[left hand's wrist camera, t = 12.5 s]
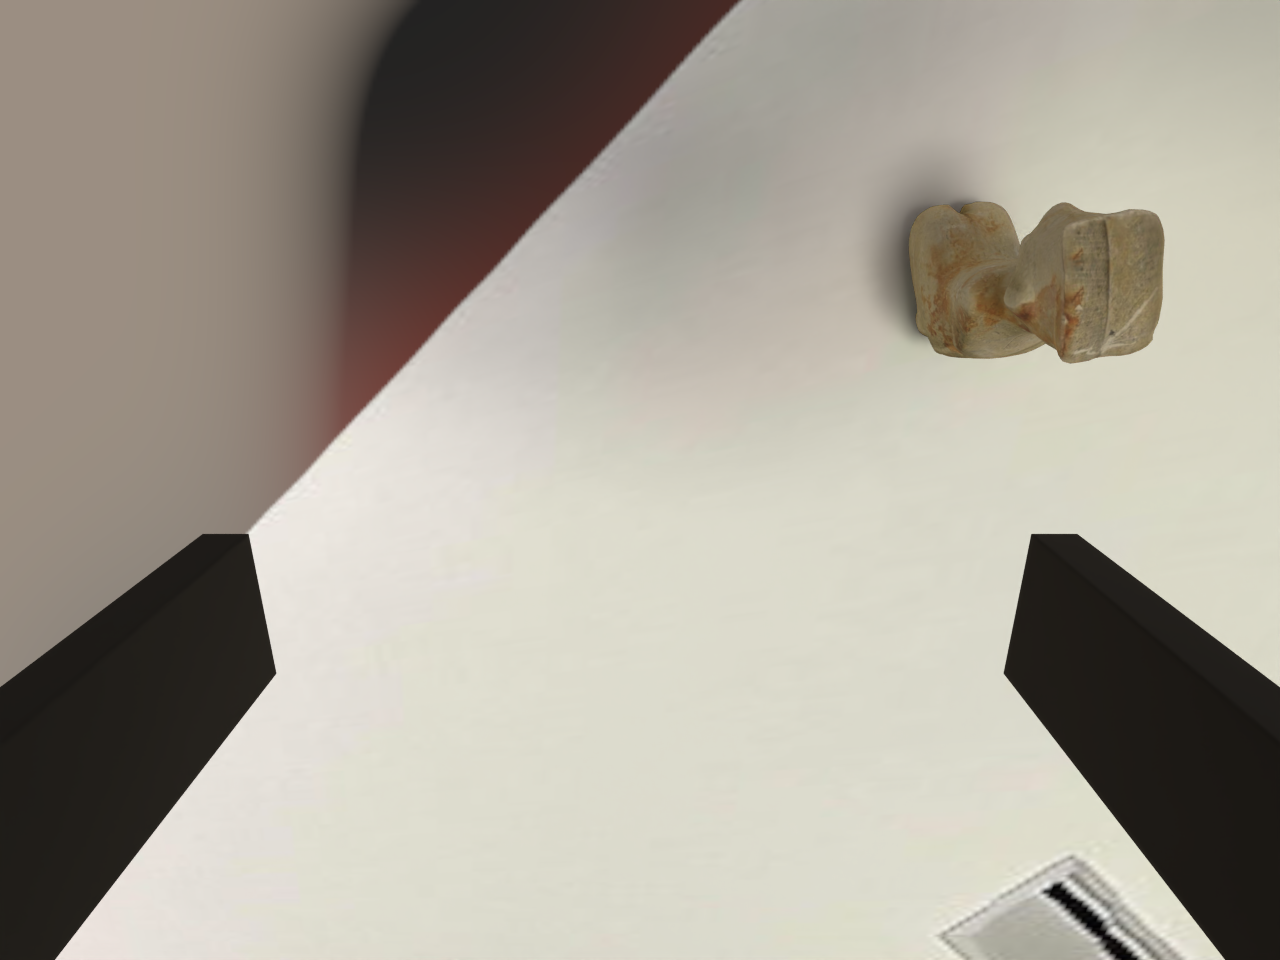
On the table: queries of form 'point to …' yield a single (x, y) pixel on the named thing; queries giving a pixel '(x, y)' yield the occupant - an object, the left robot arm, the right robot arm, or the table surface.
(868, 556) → the table surface
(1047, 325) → the sculpture
